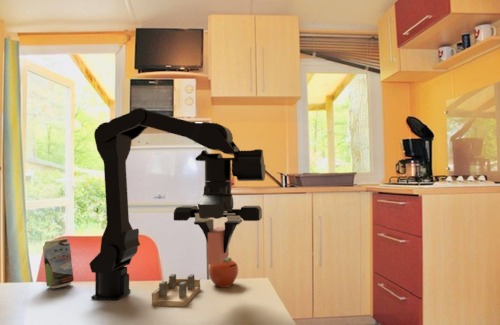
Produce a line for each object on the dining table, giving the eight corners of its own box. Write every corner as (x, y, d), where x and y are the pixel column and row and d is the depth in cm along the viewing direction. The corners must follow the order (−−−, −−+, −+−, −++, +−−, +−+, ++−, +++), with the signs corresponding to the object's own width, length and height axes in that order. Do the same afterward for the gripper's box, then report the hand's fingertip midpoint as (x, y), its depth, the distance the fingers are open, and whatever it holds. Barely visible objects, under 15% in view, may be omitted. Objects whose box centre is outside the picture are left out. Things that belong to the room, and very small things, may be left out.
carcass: (151, 305, 79) (151, 286, 79) (171, 288, 91) (171, 271, 91) (184, 306, 78) (184, 287, 78) (200, 289, 90) (200, 272, 90)
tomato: (231, 290, 88) (230, 256, 89) (203, 287, 91) (203, 254, 91) (242, 282, 95) (242, 251, 96) (216, 279, 98) (216, 249, 98)
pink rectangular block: (219, 264, 77) (219, 233, 77) (207, 264, 77) (207, 233, 77) (228, 255, 86) (228, 227, 86) (217, 255, 86) (217, 227, 86)
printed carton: (62, 291, 89) (62, 241, 90) (36, 289, 91) (36, 240, 91) (79, 283, 95) (79, 236, 96) (54, 282, 97) (54, 236, 97)
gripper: (164, 182, 75) (164, 260, 75) (255, 181, 73) (256, 262, 72) (181, 181, 86) (182, 249, 86) (261, 180, 84) (262, 250, 83)
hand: (218, 252), depth 81 cm, fingers closed on pink rectangular block, 2 cm apart
